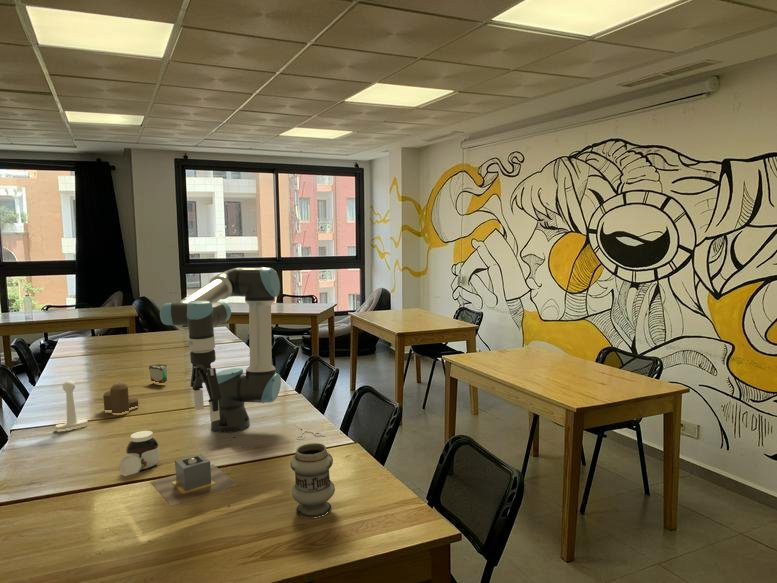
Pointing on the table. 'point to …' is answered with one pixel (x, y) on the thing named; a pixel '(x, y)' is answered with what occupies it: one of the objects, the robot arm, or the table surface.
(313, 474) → the apothecary jar
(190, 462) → the steel post
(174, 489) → the base plate
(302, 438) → the scissors
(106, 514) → the table surface
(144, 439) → the spread jar
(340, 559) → the table surface
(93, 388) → the table surface
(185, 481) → the collar
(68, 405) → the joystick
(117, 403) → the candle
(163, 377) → the food container
